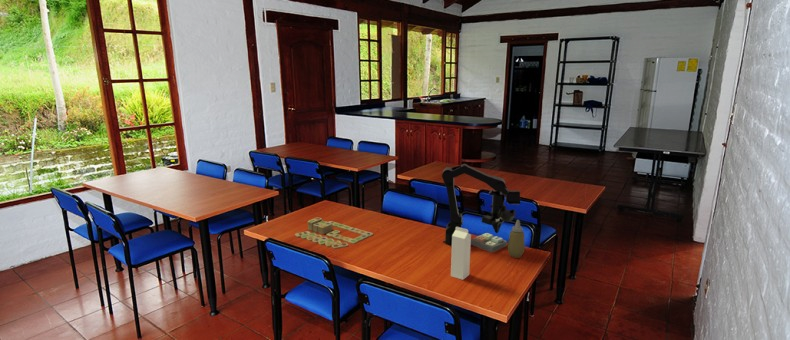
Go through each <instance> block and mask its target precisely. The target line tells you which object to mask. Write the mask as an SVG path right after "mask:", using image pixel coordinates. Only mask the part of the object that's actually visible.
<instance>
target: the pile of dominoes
mask: <svg viewBox="0 0 790 340" xmlns="http://www.w3.org/2000/svg"><path fill="white" fill-rule="evenodd" d="M333 227H334V228H338V229H341V230H345V231H349V232H352V233H354V234H355V233H356V234H358V235H359V236H357V237H354V238H351V237H349V236H347V237H346V235H345V236H344V235H341V231H340V230H337V229H335V230H333ZM317 233H318V234H317ZM325 234H326V235H325ZM323 235H325V236H323ZM373 235H374V233H373V232H370V231H366V230H363V229H359V228H357V227H356V228H355V227H351V226H349V225H345V224H341V223H339V222H335V221H332V220H331V221H330V220H329V221H327V220H326V221H325V220H323V219H322V217H314V218H312V219H309V220H308V221H307V231H303V232H296V233H295V234H294V236H295V237H296V238H301V239H302V240H306V241H309V242H312V243H314V244H319V245H320V246H323V245H325V246H326V247H331V248H332V249H334V250H336V249H337V250H338V249H342V248H345V247H349V244H351V245H353V244H354V245H355V244H357V243H359V242H361V241H363V240H365V239H367V238H369V237H372V236H373ZM328 237H329V238H328ZM335 239H336V240H335ZM342 241H343V242H342ZM348 243H349V244H348Z"/></svg>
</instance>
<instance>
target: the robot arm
mask: <svg viewBox="0 0 790 340" xmlns="http://www.w3.org/2000/svg"><path fill="white" fill-rule="evenodd" d="M464 174H465V175H467V176H469V177H472V178H473V179H476V180H478V181H480V182H483V183H484V184H486V185H487V186H489V187H490V189H491V190H489V192H488V194H489V196H492V199H491V200H492V203H491V204H490V208H491V212H489V213H490V214H489V215H485V216H484V215H483V216H482V217H481V218H480V219H481V220H480V221H481V223H482V224H486V225H489V226H492V228H493V230H494V233H495V234H498V233H499V232H500V229H501V227H502V224H503V223H504V222H507V223H509V222H512V221H513V220H514V218H516V214H517V213H516V210H515V209H511V210H510V209H507V205H505V202H506V204H508V205H518V206H519V205H520V204H521V191H520V190H509V188H508V187H507V186H506V181H505V179H504V178H503V177H499V176H495V175H489V174H488V173H485V172H483V171H481V170H478V169H477V168H474V167H472V166H471V165H468V164H467V163H463V164H460V165H456V166H453V167H449V166H447V167H445V168H444V169H443V171H442V173H441V178H442V181H443V184H444V186H445V188H446V193H447V194H446V195H447V200H448V207H449V212H450V213H449V214H450V217H449V218H450V220H449V222H448V223H447V224H446V228H445V233H444V235H445V239H444V240H443V241H442V243H444V244H446V245H448V246H451V247H452V235H453V233H454V232H455V230H456V227H460V228H462V226H463V224H464V219H463V213H460V212H459V210H458V204H457V203H458V202H457V198H456V196H457V195H456V190H455V178H457V177H460V176H461V175H464Z"/></svg>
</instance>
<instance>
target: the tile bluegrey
mask: <svg viewBox="0 0 790 340" xmlns="http://www.w3.org/2000/svg"><path fill="white" fill-rule="evenodd" d="M503 240H504V239H503V237H499V236H497V235H496V236H494V237H493V238H491V241H492V242H495V243H498V244H499V243H501V242H503Z"/></svg>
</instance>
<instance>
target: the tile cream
mask: <svg viewBox="0 0 790 340" xmlns="http://www.w3.org/2000/svg"><path fill="white" fill-rule="evenodd" d="M485 244H486V245H489V246H494V245H496V243H493V242H491V241H489V242H487V243H485Z"/></svg>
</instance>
